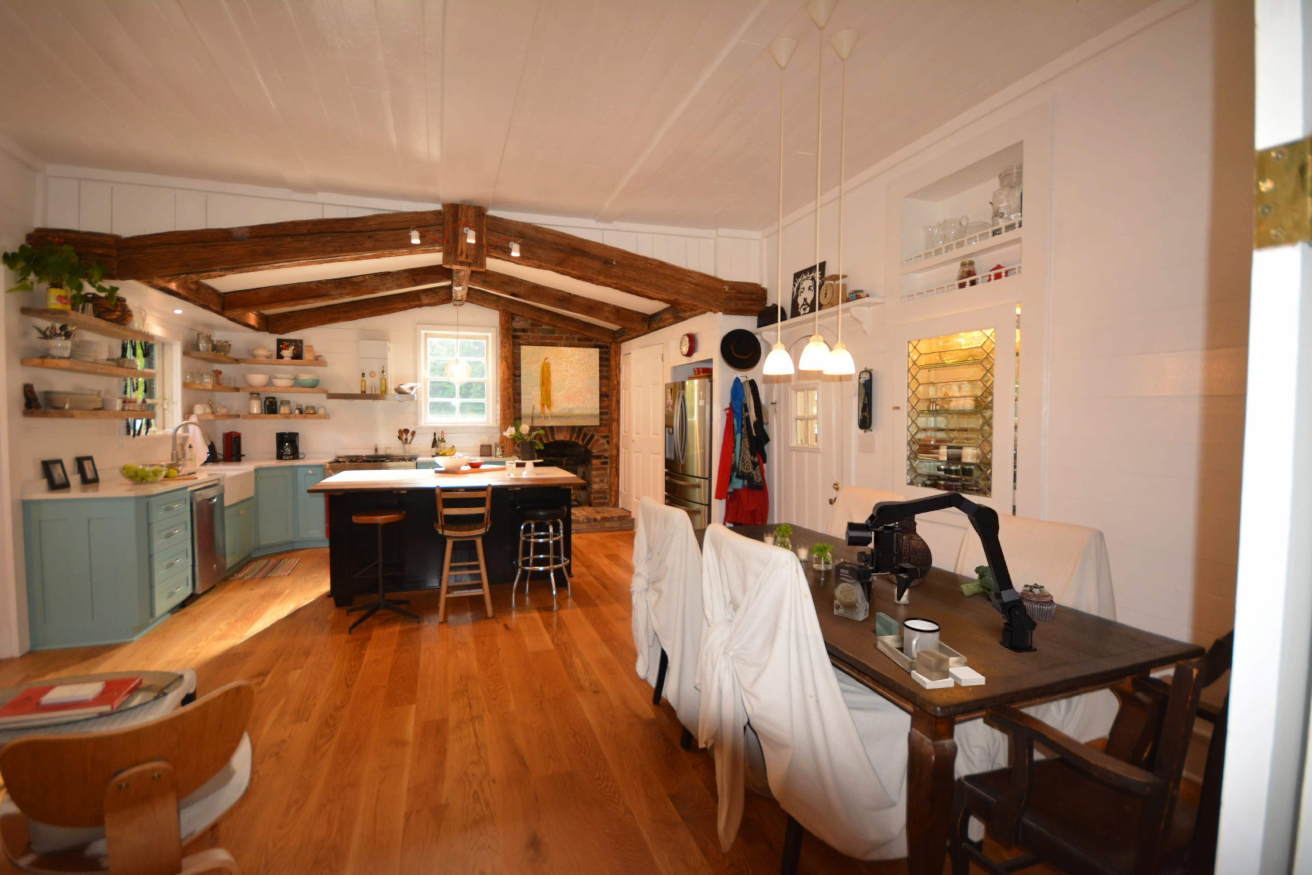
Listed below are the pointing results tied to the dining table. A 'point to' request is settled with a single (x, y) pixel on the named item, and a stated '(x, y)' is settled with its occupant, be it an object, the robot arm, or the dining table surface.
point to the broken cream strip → (952, 678)
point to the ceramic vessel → (912, 549)
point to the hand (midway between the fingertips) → (883, 601)
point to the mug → (920, 635)
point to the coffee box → (849, 593)
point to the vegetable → (980, 583)
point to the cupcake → (1038, 602)
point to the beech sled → (891, 639)
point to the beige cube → (932, 665)
